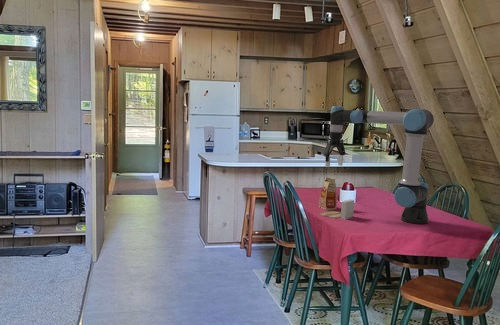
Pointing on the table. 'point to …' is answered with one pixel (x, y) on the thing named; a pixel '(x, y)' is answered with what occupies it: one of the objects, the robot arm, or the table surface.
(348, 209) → the tile
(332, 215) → the cork mat
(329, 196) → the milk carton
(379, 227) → the table surface
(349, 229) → the table surface
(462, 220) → the table surface
